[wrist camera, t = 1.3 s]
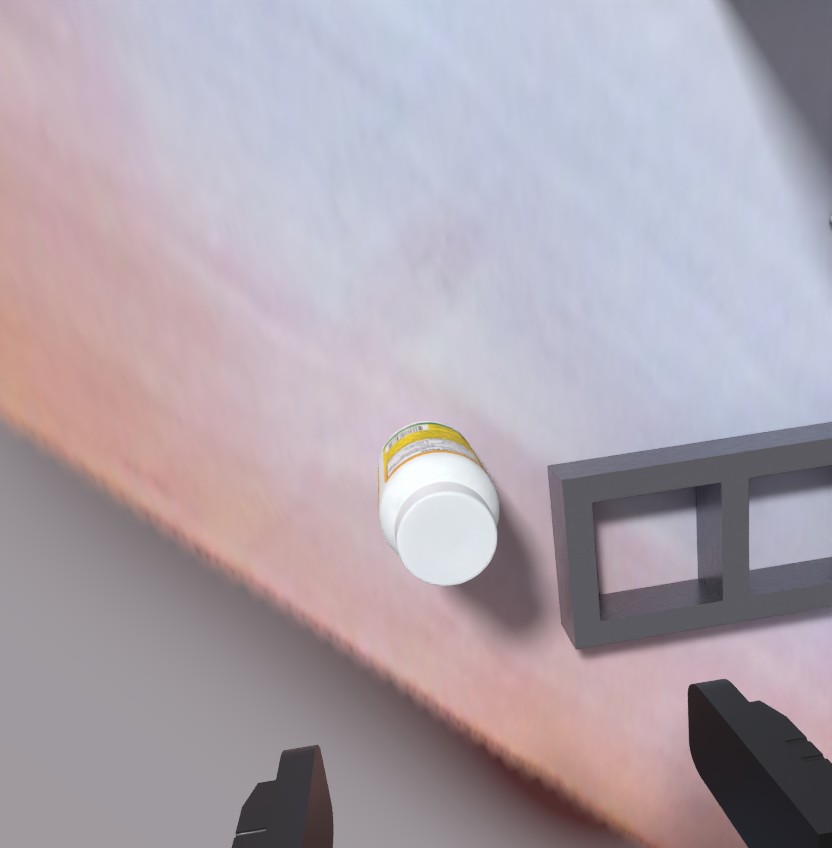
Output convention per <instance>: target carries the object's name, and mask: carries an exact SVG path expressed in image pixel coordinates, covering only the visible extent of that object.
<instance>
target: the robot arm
mask: <svg viewBox="0 0 832 848" xmlns="http://www.w3.org/2000/svg"><path fill="white" fill-rule="evenodd" d="M688 718H689V746H690V751H691V755H692V758H693V761H694V764H695V766H696V769H697V771H698V773H699V775H700V776H701V778H702V780H703V781H704V783H705V784H706V785H707V787H708V788H709V790H710V791H711V793H712V794H713V796H714V797H715V799H716V800H717V802H718V803H719V805H720V806H721V808H722V809H723V811H724V812H725V814H726V815H727V817H728V818H729V820H730V821H731V823H732V824H733V826H734V827H735V829H736V830H737V832H738V833H739V835H740V836H741V838H742V839H743V840H744V842H745V843H746V845H747V846H748V848H832V763H831V762H830V761H829V760H828V759H825V758H824V757H823V754H822V753H821V752H820V751H819V750H818V749H817V748H816V747H815V746H814V745H813V744H812V743H811V742H810V741H809V742H808V741H807V739H806V736H805V735H804V734H803V733H802V732H801V731H800V730H799V729H798V728H797V727H796V726H795V725H794V724H793V723H792V722H791V721H790V720H789V719H788V718H787V717H786V716H784V715H783V714H781V713H780V712H778V711H776V710H775V709H773V708H771V707H770V706H768V705H766V704H765V703H763V702H761V701H754V702H749V701H748V700H747V699H746V698H745V697H744V696H743V695H742V694H741V693H740V692H739V691H738V689H737V688H736V687H735V686H734V685H733V684H732V683H731V682H730V681H728V680H726V679H720V680H714V681H708V682H702V683H696V684H691V685H690V686H689V688H688ZM232 848H333V812H332V805H331V799H330V794H329V789H328V784H327V779H326V774H325V770H324V764H323V760H322V755H321V750H320V747H319V746H318V745H314V746H308V747H302V748H296V749H290V750H284V751H283V752H282V754H281V758H280V763H279V768H278V773H277V778H276V780H274V781H268V782H262V783H258V784H257V786H256V787H255V789H254V790H253V792H252V793H251V795H250V796H249V798H248V799H247V801H246V802H245V804H244V805H243V807H242V810H241V814H240V818H239V822H238V826H237V830H236V838H234V841H233V845H232Z"/></svg>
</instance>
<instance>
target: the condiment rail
mask: <svg viewBox="0 0 832 848" xmlns="http://www.w3.org/2000/svg"><path fill="white" fill-rule="evenodd" d="M828 465H832V422H829V423H823V424H816V425H810V426H803V427H797V428H790V429H784V430H777V431H771V432H764V433H758V434H751V435H745V436H738V437H732V438H725V439H719V440H712V441H706V442H699V443H693V444H686V445H680V446H673V447H667V448H660V449H654V450H647V451H641V452H635V453H628V454H622V455H615V456H609V457H602V458H596V459H589V460H583V461H576V462H570V463H563V464H557V465H550V466H548V476H549V487H550V499H551V510H552V522H553V533H554V544H555V556H556V567H557V579H558V590H559V602H560V613H561V624H562V626H563V628H564V629H565V631H566V633H567V635H568V636H569V638H570V640H571V642H572V644H573V645H574V647H575V649H580V648H586V647H592V646H598V645H604V644H610V643H616V642H622V641H628V640H634V639H640V638H646V637H652V636H658V635H664V634H670V633H676V632H682V631H688V630H694V629H700V628H706V627H712V626H718V625H724V624H729V623H735V622H741V621H747V620H753V619H759V618H765V617H771V616H777V615H783V614H789V613H795V612H801V611H807V610H813V609H819V608H825V607H831V606H832V557H830V558H824V559H818V560H812V561H805V562H799V563H793V564H787V565H781V566H775V567H769V568H763V569H757V570H750V571H749V478H752V477H758V476H764V475H771V474H777V473H784V472H790V471H796V470H803V469H809V468H815V467H822V466H828ZM694 486H696V505H697V544H698V579H695V580H689V581H683V582H677V583H671V584H665V585H659V586H653V587H647V588H640V589H634V590H628V591H622V592H616V593H610V594H604V595H599V594H598V580H597V566H596V551H595V537H594V523H593V509H592V503H593V502H599V501H605V500H612V499H618V498H624V497H631V496H637V495H643V494H650V493H656V492H663V491H669V490H675V489H682V488H688V487H694Z"/></svg>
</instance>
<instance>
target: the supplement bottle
mask: <svg viewBox="0 0 832 848" xmlns="http://www.w3.org/2000/svg"><path fill="white" fill-rule="evenodd" d="M378 495H379V521H380V526H381V529H382V532H383V535H384V537H385V539H386V541H387V542H388V544H389V545H390V547H391V548H392V549H393V550H394V551H395V552H396V553H397V554H398V555H399V556H400V559H401V560H402V562H403V564H404V565H405V567H406V568H407V569H408V571H409V572H411V573H412V574H413V575H414V576H416V577H417V578H419V579H420V580H422V581H424V582H427V583H429V584H434V585H440V586H450V585H457V584H461V583H464V582H466V581H469V580H471V579H472V578H474V577H476V576H477V575H478V574H480V573H481V572H482V571H483V570H484V569H485V568H486V567H487V565H488V564H489V563H490V561H491V559H492V557H493V555H494V553H495V550H496V545H497V525H498V521H499V511H500V509H499V499H498V495H497V492H496V489H495V486H494V485H493V483H492V481H491V479H490V477H489V476H488V474H487V472H486V471H485V469H484V468H483V466H482V464H481V463H480V461H479V460H478V458H477V456H476V455H475V453H474V451H473V450H472V448H471V447H470V445H469V443H468V442H467V441H466V439H465V438H464V437H463V436H462V435H461V434H460V433H459V432H458V431H457V430H455V429H454V428H452V427H450V426H448V425H446V424H443V423H440V422H435V421H421V422H416V423H412V424H409V425H407V426H405V427H403V428H401V429H400V430H398V431H397V432H396V433H394V434H393V435H392V436H391V437H390V438H389V440H388V441H387V442H386V444H385V445H384V447H383V449H382V451H381V454H380V457H379V463H378Z"/></svg>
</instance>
